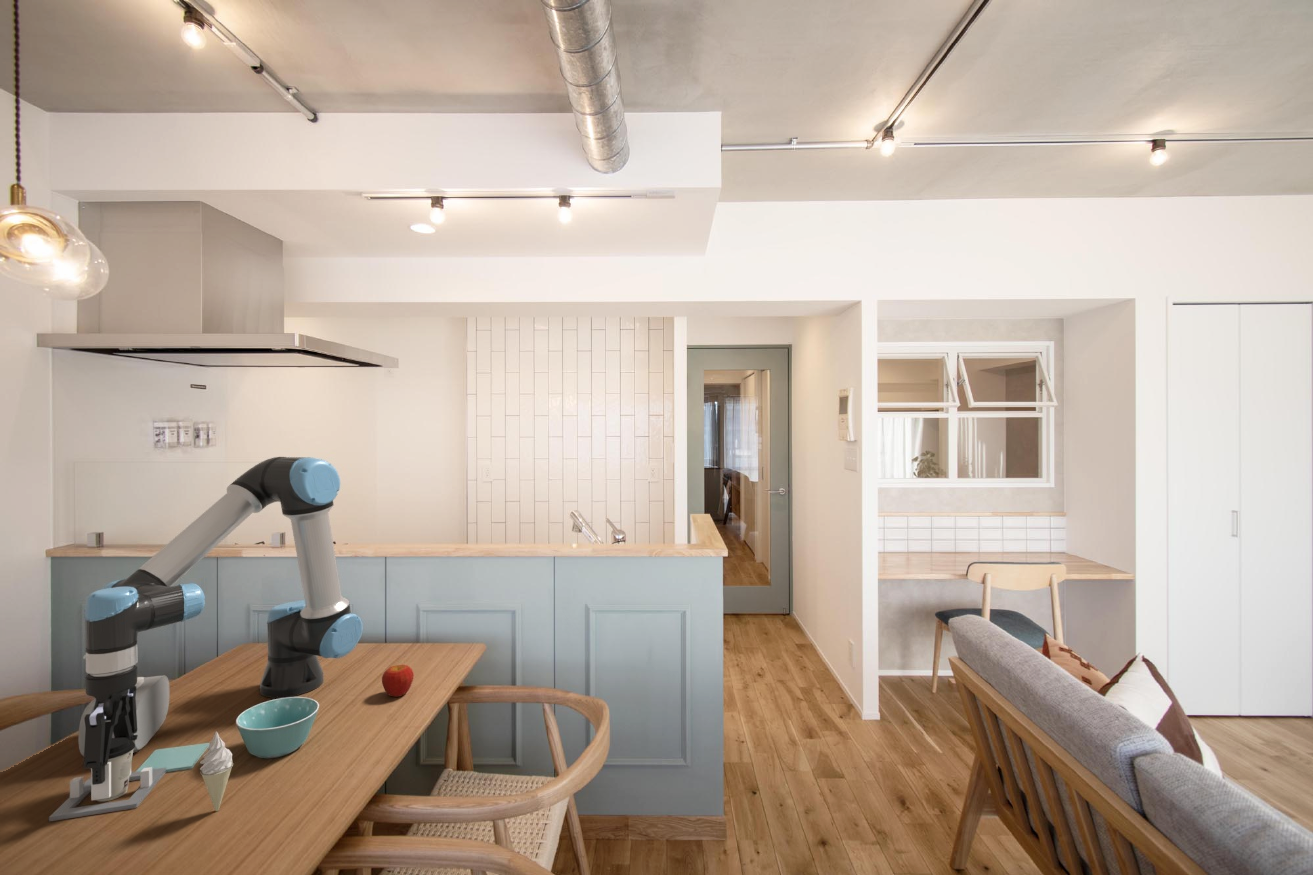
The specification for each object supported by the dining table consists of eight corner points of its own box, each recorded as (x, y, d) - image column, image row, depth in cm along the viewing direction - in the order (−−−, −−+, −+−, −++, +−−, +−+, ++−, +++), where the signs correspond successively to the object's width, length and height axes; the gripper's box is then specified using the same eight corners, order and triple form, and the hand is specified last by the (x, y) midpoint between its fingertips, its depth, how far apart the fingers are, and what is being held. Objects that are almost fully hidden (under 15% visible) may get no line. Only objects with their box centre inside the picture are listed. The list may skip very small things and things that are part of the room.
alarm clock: (120, 725, 146) (120, 670, 146) (169, 719, 150) (169, 664, 150) (77, 770, 127) (77, 706, 127) (134, 761, 131) (134, 699, 130)
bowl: (334, 737, 142) (334, 702, 141) (272, 773, 127) (272, 734, 127) (284, 726, 147) (284, 692, 147) (218, 759, 132) (218, 721, 132)
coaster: (209, 745, 138) (209, 742, 138) (191, 768, 128) (191, 765, 128) (155, 752, 134) (155, 749, 134) (133, 776, 125) (133, 774, 125)
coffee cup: (143, 789, 121) (143, 739, 120) (98, 809, 114) (98, 756, 114) (124, 780, 124) (124, 731, 123) (80, 799, 117) (80, 747, 117)
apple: (375, 697, 163) (375, 668, 163) (398, 686, 170) (398, 658, 170) (397, 702, 160) (397, 673, 160) (419, 690, 167) (419, 662, 167)
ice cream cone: (211, 802, 117) (211, 724, 116) (239, 801, 117) (239, 723, 117) (193, 819, 112) (193, 738, 111) (222, 818, 112) (222, 737, 112)
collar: (166, 771, 127) (166, 751, 127) (136, 807, 115) (136, 786, 115) (89, 782, 123) (89, 762, 123) (49, 821, 111) (49, 799, 111)
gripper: (115, 653, 127) (115, 763, 127) (55, 692, 108) (56, 821, 108) (158, 649, 129) (158, 757, 129) (108, 687, 110) (108, 813, 111)
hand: (112, 786), depth 119 cm, fingers closed on coffee cup, 7 cm apart
